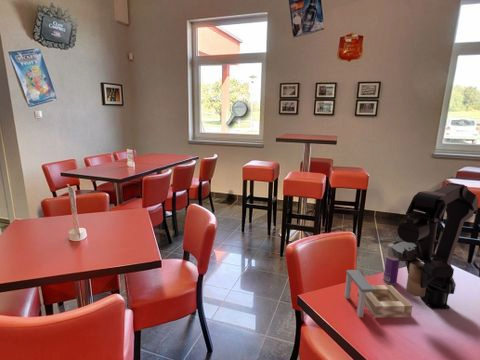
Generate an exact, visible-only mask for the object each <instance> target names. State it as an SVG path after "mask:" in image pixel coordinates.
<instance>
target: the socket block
mask: <svg viewBox="0 0 480 360" xmlns="http://www.w3.org/2000/svg"><path fill="white" fill-rule="evenodd" d="M370 285H371V286H372V287H373V288H374V289H375V291H374V292H366V296H365V305H364V307H366V309H367V310H368V311H369V312H370V314H371V315H372V317H373V318H374V319H375V318H377V319H380V318H381V319H386V318H411V317H412V312H413V305H412V304H411V303H410V301H408V300H407V299H406V298H405V297H404V296H403V295H402V294H401V293H400V292H399V291H398V290H397V289H396V288H395V287H394V286H393V285H390V284H377V285H376V284H375V285H372V284H370ZM359 290H360V289H359V288H358V287H357V298H359Z"/></svg>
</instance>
